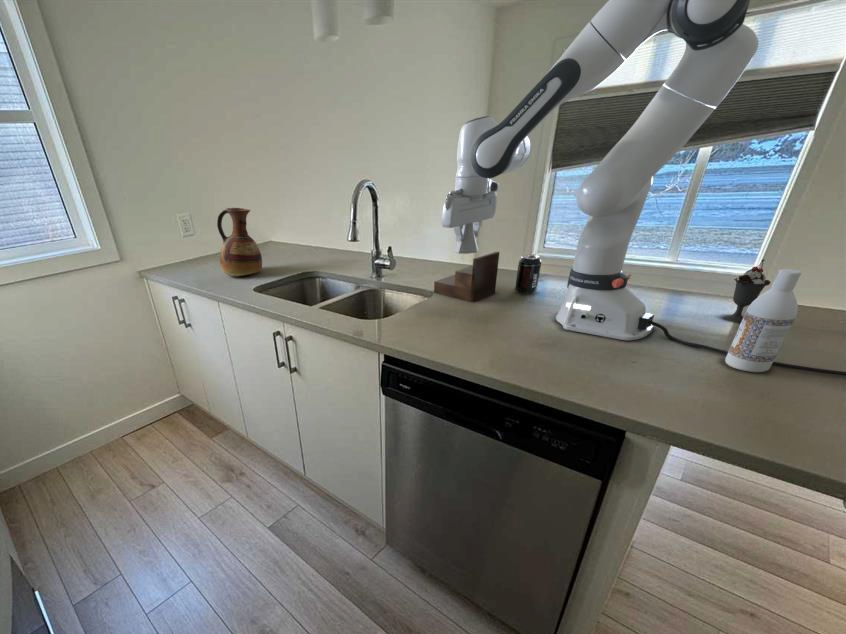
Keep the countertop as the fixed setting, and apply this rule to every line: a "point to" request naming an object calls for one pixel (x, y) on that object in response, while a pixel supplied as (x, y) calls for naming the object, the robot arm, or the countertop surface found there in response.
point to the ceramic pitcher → (238, 246)
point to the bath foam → (765, 325)
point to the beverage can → (528, 274)
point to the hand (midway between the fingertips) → (467, 239)
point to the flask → (467, 241)
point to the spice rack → (471, 279)
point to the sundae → (747, 291)
